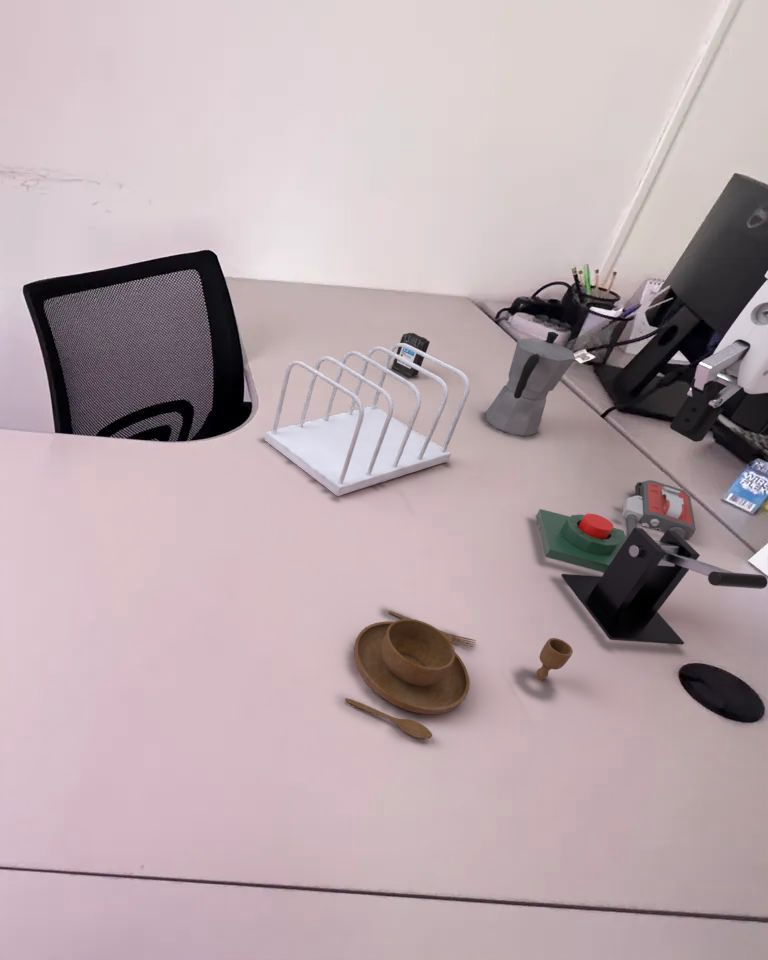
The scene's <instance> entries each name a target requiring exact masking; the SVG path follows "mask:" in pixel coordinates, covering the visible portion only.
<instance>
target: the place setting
mask: <svg viewBox="0 0 768 960" xmlns="http://www.w3.org/2000/svg"><path fill="white" fill-rule="evenodd" d="M388 613H389V614H391V615H393V616H395V617H397V618H399V619H397V620H394V621H391V620H390V621H389V620H387V621H385V620H384V621H378V622H374V623H371V624H369V625H367V626H366V627H364V628H363V629H362V630H361V631H360V632H359V633H358V634H357V637H356V639H355V642H354V645H353V659H354V663H355V665H356V668H357V671H358V673H359V674H360V676H361V677H362V679H363V680H364V682H365V683H366V684H367V685H368V686H369V688H371V689H372V690H373V691H374V692H375V693H376V694H377V695H378V696H380V697H381V698H382V699H384V700H385V701H387V702H388V703H390V704H392V705H394V706H396V707H398V708H400V709H403V710H406V711H409V712H412V713H417V714H422V715H439V714H444V713H447V712H451V711H452V710H454V709H456V708H458V706H460V705H461V704H462V703H463V702H464V701H465V699H466V698H467V696H468V694H469V690H470V686H471V681H470V675H469V671H468V670H467V667H466V665H465V664H464V662H463V660H462V658H461V657H460V656H459V654H458V653H457V652H456V651H455V648H454V645H453V643H454V644H457V645H460V646H465V647H470V648H475V646H476V643H477V640H476V639H473V638H468V637H464V636H460V635H456V634H452V633H447V632H445V631H443V630H440V629H438V628H436V627H435V626H433V625H432V624H430V623H427V622H424V621H423V620H419V619H413V618H410V617H408V616H405V615H402V614H400V613H397V612H394V611H391V610H388ZM573 653H574V651H573V648H572V646H571V645H570V644H568V642H566V641H565V640H563V639H560V638H558V637H551V638H548V639H547V641H546V642H545V643H544V645H543V647H542V648H541V651H540V653H539V661H540V662H541V664H542V665H541V667H540V668H538V669H537V670H536V676H535V679H536V680H538V681H543V680H544V679H547V678H548V676H549V672H550V671H551V670H559V669H562V668H563V667H564V666H565V665H566V663H567V662H568V661H569V659H570V658H571V657H572V655H573ZM344 701H345V702H346V703H348V704H350V705H352V706H354V707H357V708H359V709H361V710H364V711H365V712H366V711H367V712H369V713H372V714H373V715H377V716H379V717H381V718H384V719H387V720H388V721H390V722H393V723H394V724H395V725H397V726H398V727H399V728H400V729H401V730H402V731H403V732H404V733H406V734H407V735H409V736H412V737H414V738H417V739H422V740H428V739H431V738H432V737H433V734H432V731H430V730H429V728H427V727H426V726H425V725H424V724H422V723H420V722H418V721H416V720H414V719H413V720H412V719H408V718H399V717H395V716H392V715H390V714H387V713H385V712H383V711H380V710H378V709H375V708H373V707H371V706H369V705H367V704H364V703H362V702H359V701H357V700H354V699H351V698H348V697H346V698H344Z"/></svg>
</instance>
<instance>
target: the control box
mask: <svg viewBox="0 0 768 960" xmlns="http://www.w3.org/2000/svg"><path fill="white" fill-rule="evenodd" d="M584 515H585V514H572V515H570V516H569V515H565V514H561V513H557V512H554V511H551V510H550V511H549V510H546V509H542V508H539V510H538V511H537V513H536V515H535V519H536V523H537V526H538V531H539V535H540V539H541V543H542V547H543V551H544V555H545V558H549V559H553V560H556V561H560V562H564V563H567V564H571V565H574V566H578V567H582V568H585V569H589V570H592V571H593V570H594V571H597V572H601V573H604V572H605V571H606V569H607V568H608V566H609V565H610V563H611V562H612V560H613V559H614V557H615V556H616V554H617V553H618V551H619V550H620V548H621V547H622V545H623V544H624V542H625V541H626V539H627V538H628V537H627V536H626V534H625V531H624V530H623V529H620V528H616V527H613V530H612V531H611V533H610V534H609V536H608V537H607V538H606V539H598V538H594V537H591V536H589V535H587V534H585V533H584V532H583V531H582V530H580V529H579V528H578V525H579V523H580V522H581V520H582V519H583V517H584Z"/></svg>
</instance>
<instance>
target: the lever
mask: <svg viewBox="0 0 768 960" xmlns="http://www.w3.org/2000/svg"><path fill="white" fill-rule="evenodd" d="M653 540H654V539H653ZM654 541H655V542H656V543H657V544H658V545H659V546H660V547H661V548H662V549H663V550H664V551H665V552H666V554H665V555H664V557H663V558H662V559H661V561H660V562H659V564H658V566H672V567H674V566H675V565H678V566H681V567H684V568H687V569H689V570H690V571H692V572H695V573H697V574H701V575H705V576H707V580H708V582H709V584H710V585H711V586H715V587H728V588H744V589H754V590H755V589H758V590H763V589H766V587H767V586H768V578H767V577H766V576H765V575H763V574H759V573H758V574H757V573H741V572H733V571H731V570H727V569H724V568H721V567H718V566H717V565H716V566H715V565H713V564H710V563H706V562H704V561H700V560H698V559H697V560H695V559H692V558H689V557H686V556H683V555H680V554H678V550H679V547H678V546H675V545H672V544H669V543H666V542H663V541H660V539H659V540H658V539H657V540H656V539H655V540H654Z"/></svg>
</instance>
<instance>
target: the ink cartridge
mask: <svg viewBox="0 0 768 960" xmlns="http://www.w3.org/2000/svg"><path fill="white" fill-rule="evenodd" d="M399 343H406V344H408V345H410V346H412V347H414V348H416V349H418V350H420V351H422V352H424V353H426V354H427V351H428V348H429V345H430V343H431V341H430V340H428V339H427V338H426V337H423V336H420V335H418V334H417V333H415V332H407V333H403V335H402V336H401V338H400V341H399ZM395 353H396V354H398V355H400V356H402V357H403V358H405V359H407V360H409V361H411V362H413V363H414V364H416V365H418V366H420V367H422V364H423V362H424V359H425V357H423V356H421V355H419V354H417V353H415V352H413V351H411V350H409V349H407V348H404V347H398V348H397V350H396V352H395ZM391 369H392V370H393V371H395V372H397V373H399V374H401V375H403V376H404V377H406V378H409V379H410V378H413V377H416V376H419V373H420V371H418V370H416V369H414V368H412V367H411V366H409V365H407V364H405V363H403V362H401V361H400V360H398V359H396V358H394V360H393V362H392V365H391Z"/></svg>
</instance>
